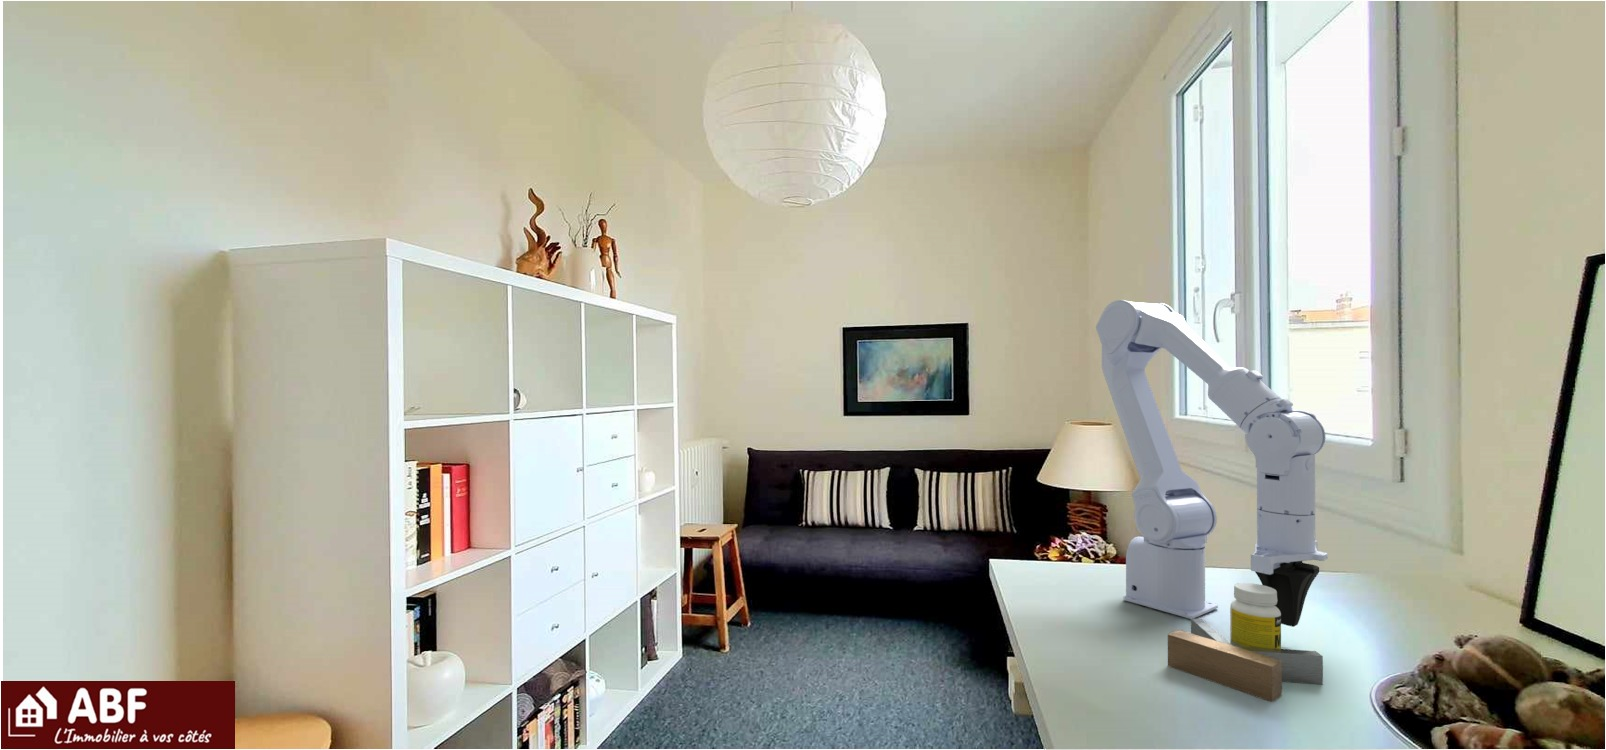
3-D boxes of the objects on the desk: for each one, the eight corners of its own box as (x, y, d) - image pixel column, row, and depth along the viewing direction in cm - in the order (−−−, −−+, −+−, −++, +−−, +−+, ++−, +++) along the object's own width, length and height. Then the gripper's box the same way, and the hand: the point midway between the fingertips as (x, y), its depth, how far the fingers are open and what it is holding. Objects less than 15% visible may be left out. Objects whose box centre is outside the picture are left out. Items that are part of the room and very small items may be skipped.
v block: (1154, 660, 74) (1154, 629, 74) (1194, 641, 79) (1194, 612, 79) (1290, 708, 63) (1290, 672, 63) (1325, 682, 69) (1325, 649, 69)
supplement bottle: (1285, 675, 70) (1285, 597, 71) (1233, 666, 73) (1232, 590, 73) (1276, 658, 75) (1276, 584, 75) (1227, 650, 77) (1227, 579, 77)
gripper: (1301, 524, 72) (1302, 648, 72) (1347, 509, 80) (1347, 620, 80) (1230, 513, 78) (1230, 627, 77) (1280, 500, 86) (1280, 604, 86)
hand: (1285, 623), depth 79 cm, fingers closed
